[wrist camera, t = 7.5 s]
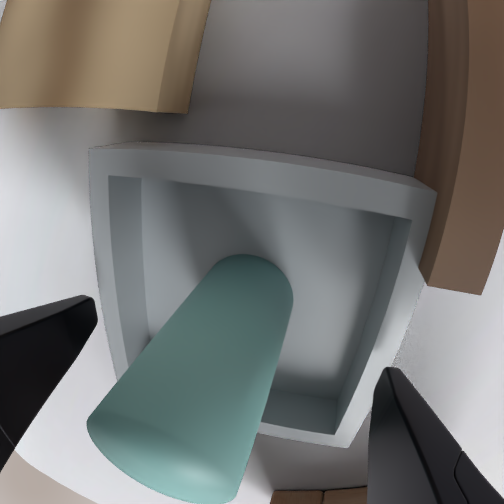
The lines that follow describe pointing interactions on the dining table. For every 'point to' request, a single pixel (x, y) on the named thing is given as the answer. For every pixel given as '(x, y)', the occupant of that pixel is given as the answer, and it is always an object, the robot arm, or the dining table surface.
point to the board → (100, 53)
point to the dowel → (200, 385)
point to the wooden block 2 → (321, 497)
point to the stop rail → (463, 142)
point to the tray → (274, 250)
